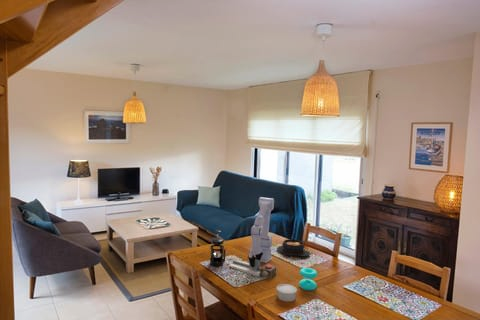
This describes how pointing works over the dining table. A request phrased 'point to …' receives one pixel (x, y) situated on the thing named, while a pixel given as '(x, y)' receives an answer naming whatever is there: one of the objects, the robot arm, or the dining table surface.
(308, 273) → the donuts
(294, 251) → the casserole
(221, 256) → the french press
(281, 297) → the ramekin
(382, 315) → the dining table surface
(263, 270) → the cabinet
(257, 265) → the carriage
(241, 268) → the rail
